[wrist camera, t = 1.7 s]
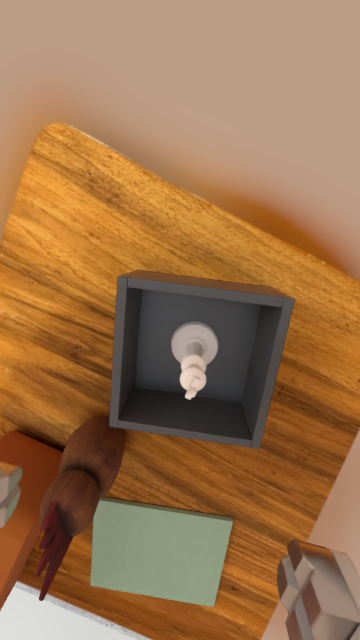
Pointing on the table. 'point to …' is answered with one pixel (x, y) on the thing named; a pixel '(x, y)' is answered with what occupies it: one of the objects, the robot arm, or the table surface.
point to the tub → (221, 373)
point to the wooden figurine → (77, 490)
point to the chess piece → (194, 354)
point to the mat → (158, 550)
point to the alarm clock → (24, 503)
